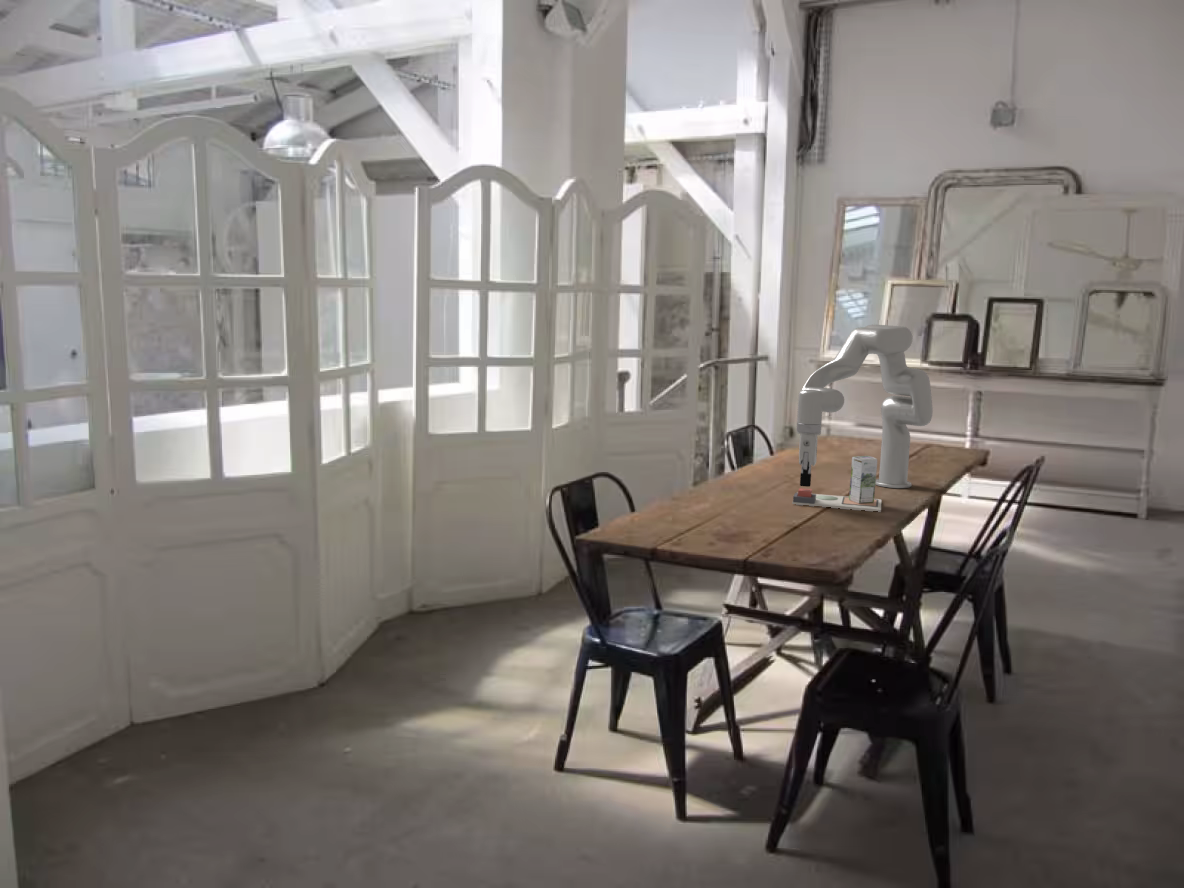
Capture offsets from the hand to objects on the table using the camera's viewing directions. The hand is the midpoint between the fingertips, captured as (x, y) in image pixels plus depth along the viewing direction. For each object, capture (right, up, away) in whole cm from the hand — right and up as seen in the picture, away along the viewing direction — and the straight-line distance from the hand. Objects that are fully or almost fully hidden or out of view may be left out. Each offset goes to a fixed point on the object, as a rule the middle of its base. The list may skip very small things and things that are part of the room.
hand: (805, 485), depth 312 cm
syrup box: (+18, -5, +1) cm, 19 cm away
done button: (0, -3, +1) cm, 3 cm away
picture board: (+11, -6, +2) cm, 13 cm away
